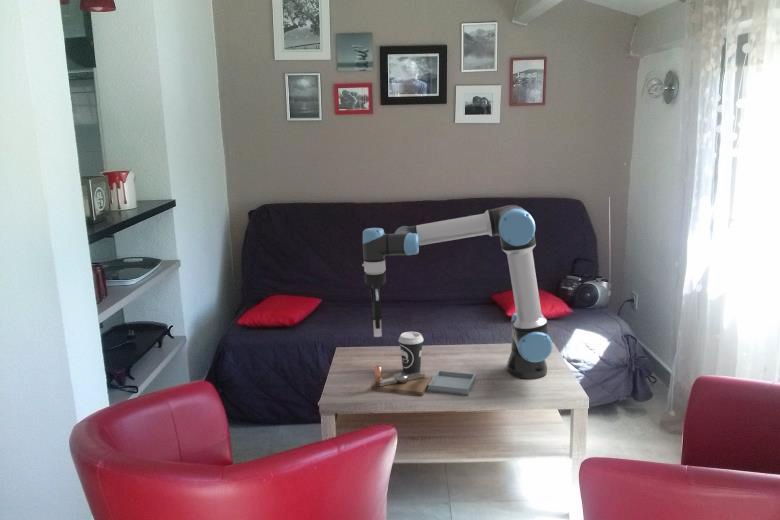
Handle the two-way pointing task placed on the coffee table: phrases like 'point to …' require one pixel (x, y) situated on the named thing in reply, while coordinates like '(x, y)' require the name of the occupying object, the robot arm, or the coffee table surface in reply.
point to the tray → (452, 382)
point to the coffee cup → (411, 351)
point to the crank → (395, 377)
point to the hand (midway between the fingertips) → (377, 336)
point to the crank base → (404, 386)
